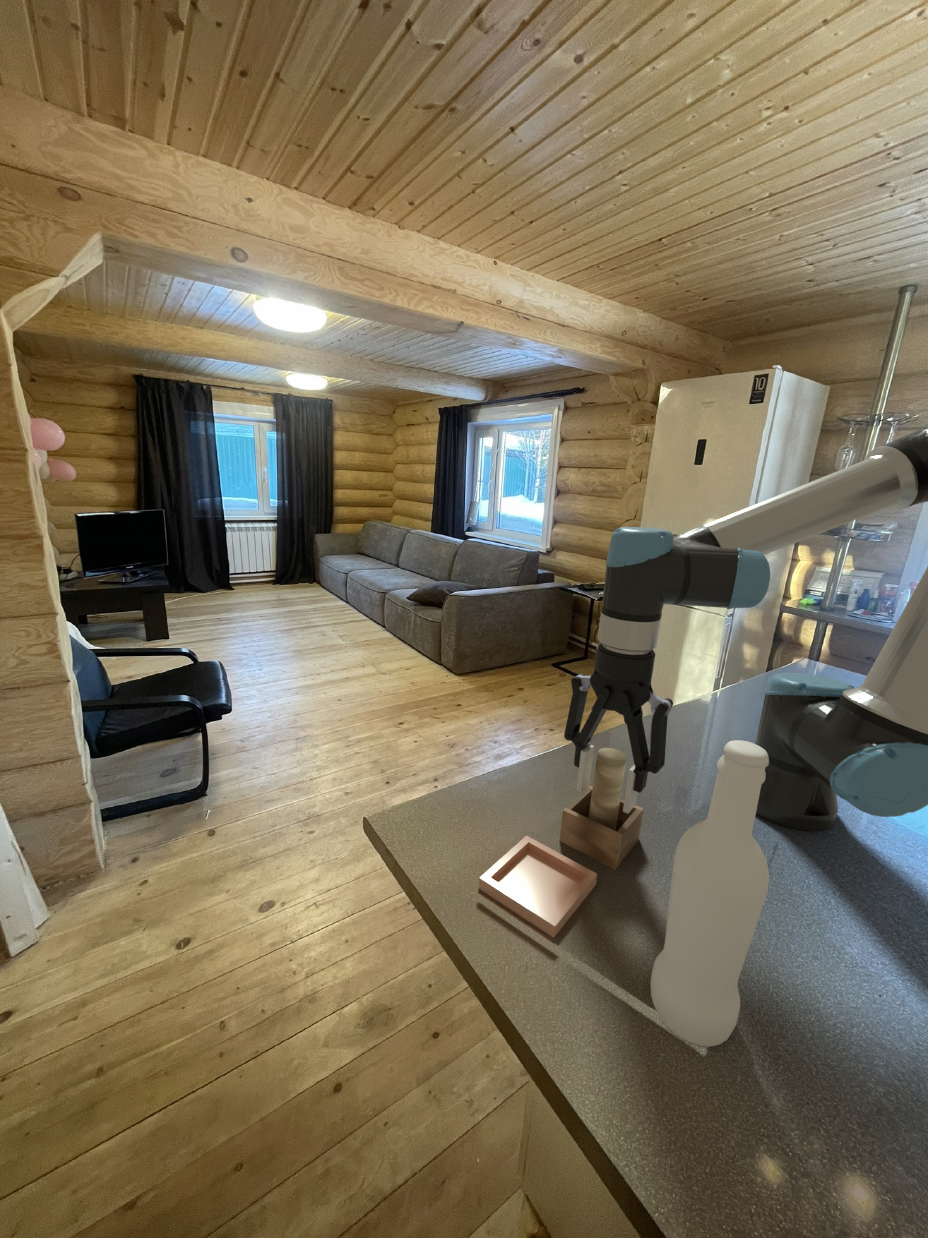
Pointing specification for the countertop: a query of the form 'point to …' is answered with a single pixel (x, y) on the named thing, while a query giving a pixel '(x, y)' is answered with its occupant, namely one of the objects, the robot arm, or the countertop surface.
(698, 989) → the bottle
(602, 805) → the dowel
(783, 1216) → the countertop surface
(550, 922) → the tray
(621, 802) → the small wooden box
